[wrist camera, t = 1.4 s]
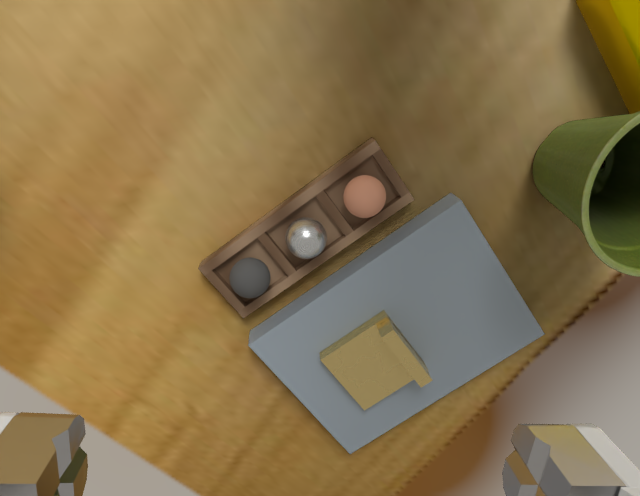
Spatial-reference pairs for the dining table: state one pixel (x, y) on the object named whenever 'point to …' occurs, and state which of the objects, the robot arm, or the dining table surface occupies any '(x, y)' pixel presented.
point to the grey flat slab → (402, 320)
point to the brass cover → (374, 361)
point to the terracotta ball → (364, 196)
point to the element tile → (617, 42)
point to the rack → (313, 202)
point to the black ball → (249, 277)
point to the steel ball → (306, 238)
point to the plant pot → (597, 184)
